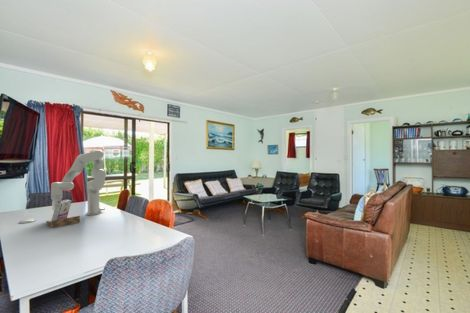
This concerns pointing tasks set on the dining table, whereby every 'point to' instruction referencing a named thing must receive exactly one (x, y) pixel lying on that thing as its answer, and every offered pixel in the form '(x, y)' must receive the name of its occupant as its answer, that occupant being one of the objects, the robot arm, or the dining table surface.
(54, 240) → the dining table surface
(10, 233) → the dining table surface
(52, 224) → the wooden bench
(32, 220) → the white dome
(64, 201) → the candy bar box
